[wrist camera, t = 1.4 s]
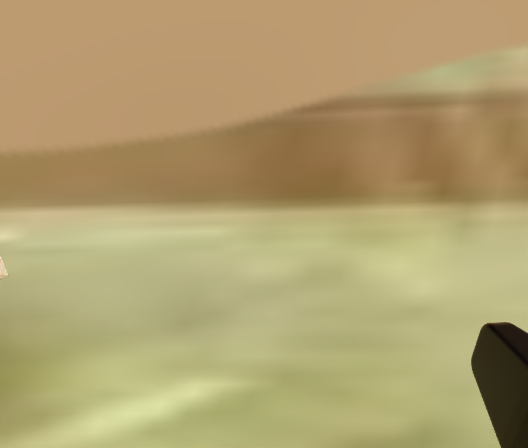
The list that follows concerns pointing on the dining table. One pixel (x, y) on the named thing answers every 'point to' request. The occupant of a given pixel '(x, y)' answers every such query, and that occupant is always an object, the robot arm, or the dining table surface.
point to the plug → (2, 269)
